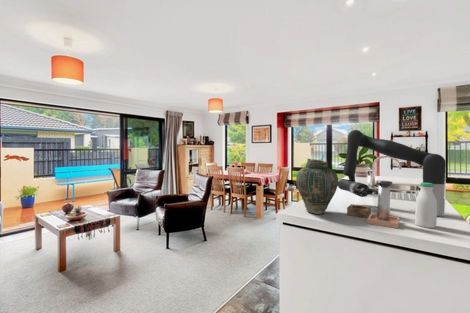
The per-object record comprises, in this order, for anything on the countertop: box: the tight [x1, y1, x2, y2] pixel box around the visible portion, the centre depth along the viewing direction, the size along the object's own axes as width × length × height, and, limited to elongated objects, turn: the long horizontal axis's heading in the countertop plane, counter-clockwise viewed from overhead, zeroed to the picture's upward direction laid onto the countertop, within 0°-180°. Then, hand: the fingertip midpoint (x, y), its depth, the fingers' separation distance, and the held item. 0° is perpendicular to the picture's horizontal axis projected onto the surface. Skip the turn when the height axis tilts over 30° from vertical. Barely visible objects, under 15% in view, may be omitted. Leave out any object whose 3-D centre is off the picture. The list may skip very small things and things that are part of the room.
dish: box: [366, 212, 400, 230], centre depth 114 cm, size 12×12×2 cm
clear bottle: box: [376, 180, 393, 222], centre depth 113 cm, size 6×6×19 cm
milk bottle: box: [414, 182, 438, 229], centre depth 109 cm, size 8×8×20 cm
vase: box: [295, 158, 339, 215], centre depth 132 cm, size 22×22×30 cm
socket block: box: [346, 203, 372, 219], centre depth 128 cm, size 10×10×4 cm
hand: (374, 194), depth 121 cm, fingers open, 8 cm apart
